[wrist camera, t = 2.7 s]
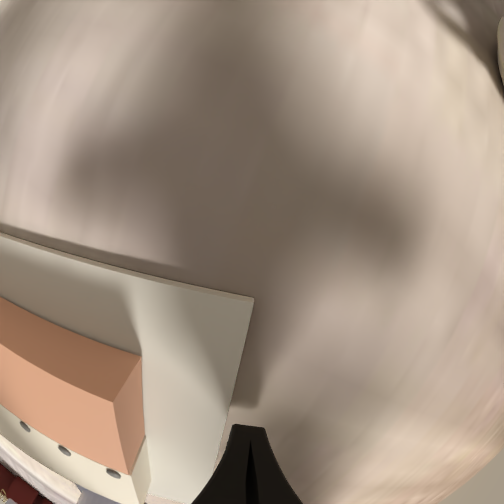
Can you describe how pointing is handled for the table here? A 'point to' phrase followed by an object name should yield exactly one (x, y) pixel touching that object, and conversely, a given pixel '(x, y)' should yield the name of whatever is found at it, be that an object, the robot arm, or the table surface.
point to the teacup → (501, 47)
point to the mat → (146, 347)
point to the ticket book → (80, 463)
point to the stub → (71, 388)
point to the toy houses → (18, 489)
